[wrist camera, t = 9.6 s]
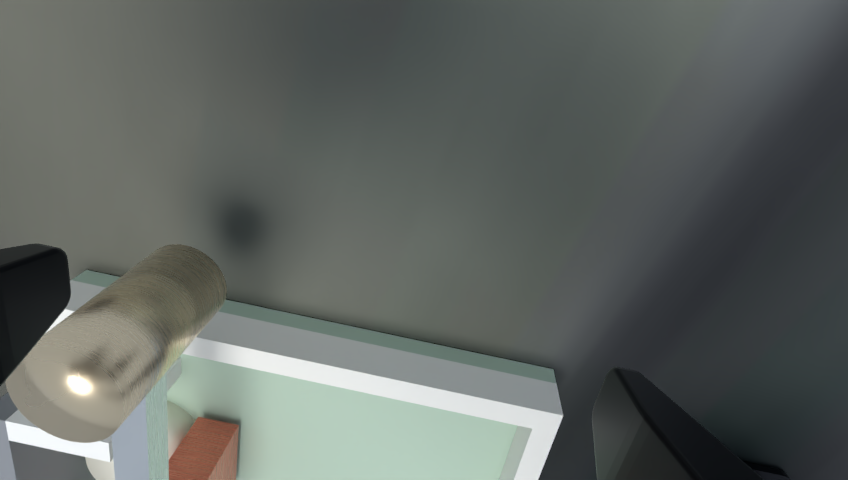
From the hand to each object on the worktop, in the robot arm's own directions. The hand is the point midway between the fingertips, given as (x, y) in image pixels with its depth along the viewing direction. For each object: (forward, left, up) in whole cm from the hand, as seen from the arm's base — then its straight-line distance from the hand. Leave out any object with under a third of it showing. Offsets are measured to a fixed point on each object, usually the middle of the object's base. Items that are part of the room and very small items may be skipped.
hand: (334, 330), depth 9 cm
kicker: (+7, +15, -12) cm, 20 cm away
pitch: (+3, +17, -13) cm, 22 cm away
